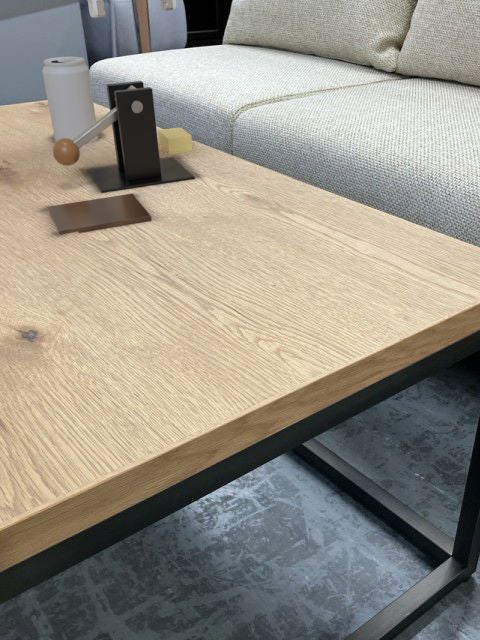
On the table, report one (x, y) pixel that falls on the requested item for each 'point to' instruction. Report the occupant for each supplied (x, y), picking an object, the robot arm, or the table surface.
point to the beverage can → (69, 96)
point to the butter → (175, 140)
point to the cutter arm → (82, 139)
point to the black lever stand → (135, 144)
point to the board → (98, 214)
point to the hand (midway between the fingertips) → (134, 13)
